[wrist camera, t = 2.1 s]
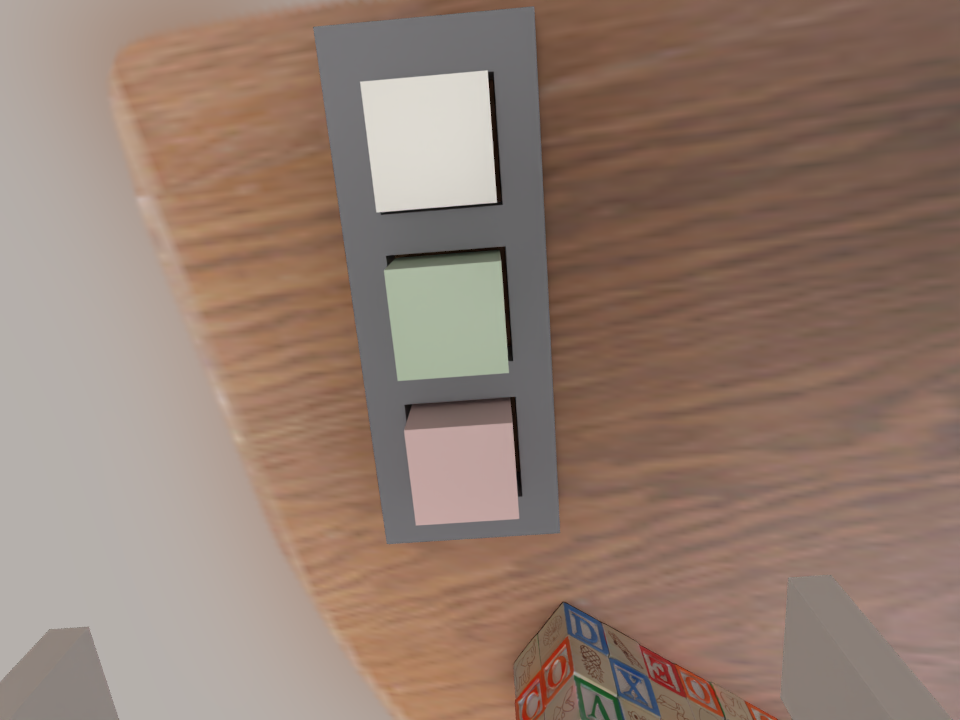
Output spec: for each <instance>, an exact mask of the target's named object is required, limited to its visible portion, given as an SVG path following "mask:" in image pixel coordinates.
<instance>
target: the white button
mask: <svg viewBox="0 0 960 720" xmlns="http://www.w3.org/2000/svg"><path fill="white" fill-rule="evenodd" d="M360 86H361V93H362V101H363V109H364V117H365V125H366V133H367V141H368V149H369V157H370V165H371V173H372V181H373V189H374V197H375V205H376V212H388V211H400V210H413V209H425V208H437V207H449V206H461V205H474V204H486V203H497V196H496V182H495V167H494V153H493V139H492V125H491V111H490V96H489V82H488V70H486V71H475V72H464V73H453V74H441V75H430V76H419V77H408V78H397V79H385V80H374V81H363V82H360Z"/></svg>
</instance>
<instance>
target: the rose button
mask: <svg viewBox="0 0 960 720" xmlns="http://www.w3.org/2000/svg"><path fill="white" fill-rule="evenodd" d="M404 435H405V443H406V450H407V458H408V466H409V474H410V482H411V490H412V498H413V506H414V514H415V522H416V526H417V525H433V524H448V523H464V522H479V521H495V520H510V519H519V507H518V493H517V478H516V464H515V450H514V436H513V422H512V412H511V401H510V397H506V398H492V399H477V400H463V401H449V402H435V403H421V404H412V406H411V410H410V413H409V416H408V419H407V422H406V426H405V429H404Z"/></svg>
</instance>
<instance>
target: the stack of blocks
mask: <svg viewBox="0 0 960 720" xmlns="http://www.w3.org/2000/svg"><path fill="white" fill-rule="evenodd" d="M514 684H515V696H516V700H515V712H516V720H778V719H776V718H775V717H773V716H771V715H769V714H768V713H766V712H764V711H762V710H760V709H759V708H757V707H755V706H753V705H751V704H750V703H748V702H746V701H744V700H742V699H741V698H739V697H737V696H736V695H734V694H732V693H730V692H729V691H727V690H725V689H723V688H721V687H720V686H718V685H716V684H714V683H712V682H707V681H705V680H704V679H702V678H700V677H698V676H696V675H694V674H693V673H691V672H689V671H687V670H685V669H684V668H682V667H680V666H678V665H676V664H672V663H671V662H669V661H668V660H666V659H664V658H662V657H661V656H659V655H657V654H655V653H653V652H651V651H650V650H648V649H646V648H644V647H643V646H640V645H639V644H638V643H637V642H636V641H634V640H632V639H631V638H629V637H627V636H625V635H623V634H621V633H620V632H618V631H616V630H614V629H613V628H611V627H609V626H607V625H605V624H603V623H600V622H599V621H598V620H596V619H594V618H592V617H590V616H589V615H587V614H585V613H583V612H581V611H579V610H578V609H576V608H574V607H572V606H570V605H569V604H566V603H564V602H563V603H562V604H561V606H560V607H559V608H558V609H557V610H556V612H555V613H554V614H553V615H552V617H551V618H550V619H549V620H548V622H547V623H546V624H545V625H544V627H543V628H542V629H541V630H540V632H539V633H538V634H537V635H536V636H535V637H534V638H533V639H532V641H531V642H530V643H529V644H528V646H527V647H526V648H525V650H524V651H523V652H522V653H521V655H520V656H519V657H518V659H517V660H516V662H515V663H514Z"/></svg>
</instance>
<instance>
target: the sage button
mask: <svg viewBox="0 0 960 720" xmlns="http://www.w3.org/2000/svg"><path fill="white" fill-rule="evenodd" d="M384 276H385V284H386V292H387V300H388V308H389V316H390V324H391V332H392V340H393V348H394V355H395V363H396V371H397V379H398V381H406V380H419V379H433V378H447V377H461V376H475V375H488V374H502V373H509V366H508V351H507V337H506V323H505V309H504V294H503V280H502V266H501V256H500V250H489V251H476V252H464V253H451V254H438V255H426V256H413V257H400V258H395V259H394V260H393V261H392V262H391V263H390V264H389V265H388V266H387V267H386V268H385V270H384Z"/></svg>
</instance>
